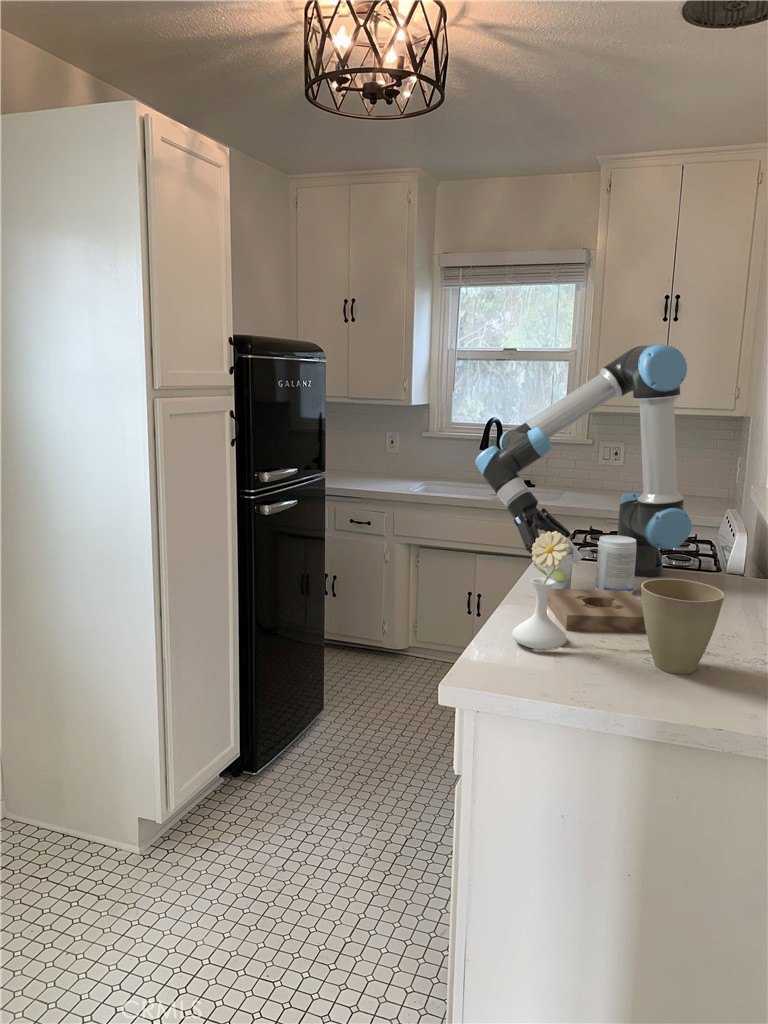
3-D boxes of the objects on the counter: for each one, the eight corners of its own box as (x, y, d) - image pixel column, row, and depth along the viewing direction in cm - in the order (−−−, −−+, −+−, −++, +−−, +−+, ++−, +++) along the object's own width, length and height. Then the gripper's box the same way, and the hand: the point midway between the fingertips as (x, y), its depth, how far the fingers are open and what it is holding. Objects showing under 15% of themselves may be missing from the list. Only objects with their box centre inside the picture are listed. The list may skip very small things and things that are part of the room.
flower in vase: (500, 638, 158) (507, 524, 154) (545, 632, 163) (553, 521, 158) (536, 660, 147) (545, 537, 142) (582, 653, 151) (592, 534, 146)
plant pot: (636, 648, 155) (643, 574, 152) (714, 660, 149) (723, 584, 146) (630, 674, 141) (638, 593, 138) (715, 688, 136) (725, 605, 133)
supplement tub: (640, 595, 193) (645, 540, 190) (616, 600, 188) (621, 544, 185) (610, 586, 201) (615, 533, 198) (586, 590, 196) (591, 536, 193)
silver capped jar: (569, 594, 191) (573, 546, 189) (570, 601, 186) (574, 551, 183) (545, 592, 193) (549, 544, 190) (545, 599, 187) (549, 549, 184)
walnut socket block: (626, 608, 182) (627, 590, 181) (656, 636, 162) (658, 617, 161) (545, 606, 181) (546, 588, 180) (565, 634, 162) (567, 615, 161)
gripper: (531, 502, 204) (578, 564, 198) (483, 513, 185) (533, 583, 179) (550, 485, 200) (598, 548, 194) (503, 495, 181) (555, 566, 174)
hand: (567, 565), depth 186 cm, fingers open, 13 cm apart
